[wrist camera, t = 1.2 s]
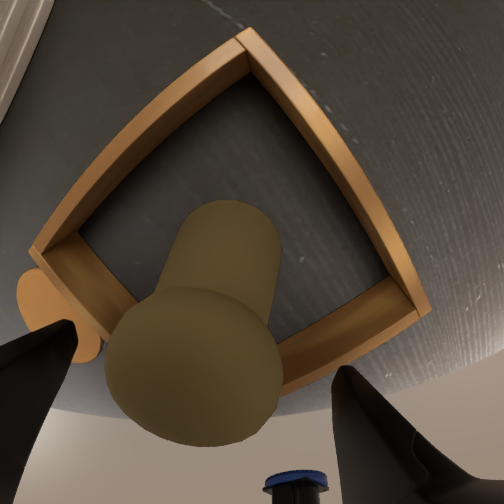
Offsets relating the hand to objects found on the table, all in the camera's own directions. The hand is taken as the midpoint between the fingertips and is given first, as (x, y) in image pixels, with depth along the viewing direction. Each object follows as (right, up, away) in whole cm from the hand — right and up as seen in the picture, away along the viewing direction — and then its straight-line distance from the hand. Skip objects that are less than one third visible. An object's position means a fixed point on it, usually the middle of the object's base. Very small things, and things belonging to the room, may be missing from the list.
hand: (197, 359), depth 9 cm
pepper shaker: (0, +3, +8) cm, 9 cm away
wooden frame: (0, +3, +8) cm, 9 cm away
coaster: (-14, -2, +11) cm, 18 cm away
